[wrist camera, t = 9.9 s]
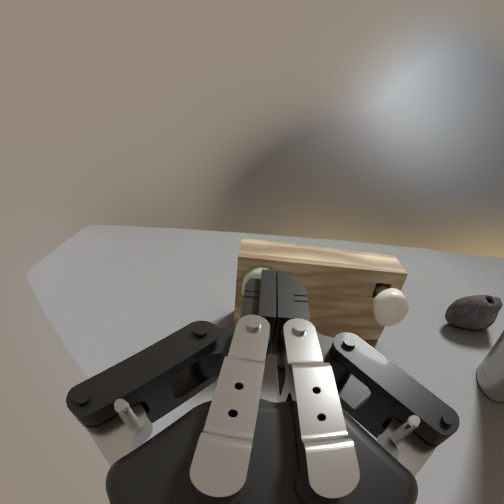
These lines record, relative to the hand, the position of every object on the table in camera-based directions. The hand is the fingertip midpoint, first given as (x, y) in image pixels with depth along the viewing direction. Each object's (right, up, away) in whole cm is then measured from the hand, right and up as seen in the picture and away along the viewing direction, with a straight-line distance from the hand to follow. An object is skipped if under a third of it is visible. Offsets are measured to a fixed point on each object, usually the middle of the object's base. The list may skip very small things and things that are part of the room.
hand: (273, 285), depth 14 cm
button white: (+16, -6, +18) cm, 25 cm away
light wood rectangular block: (+7, -10, +25) cm, 28 cm away
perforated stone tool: (+41, -13, +25) cm, 50 cm away
